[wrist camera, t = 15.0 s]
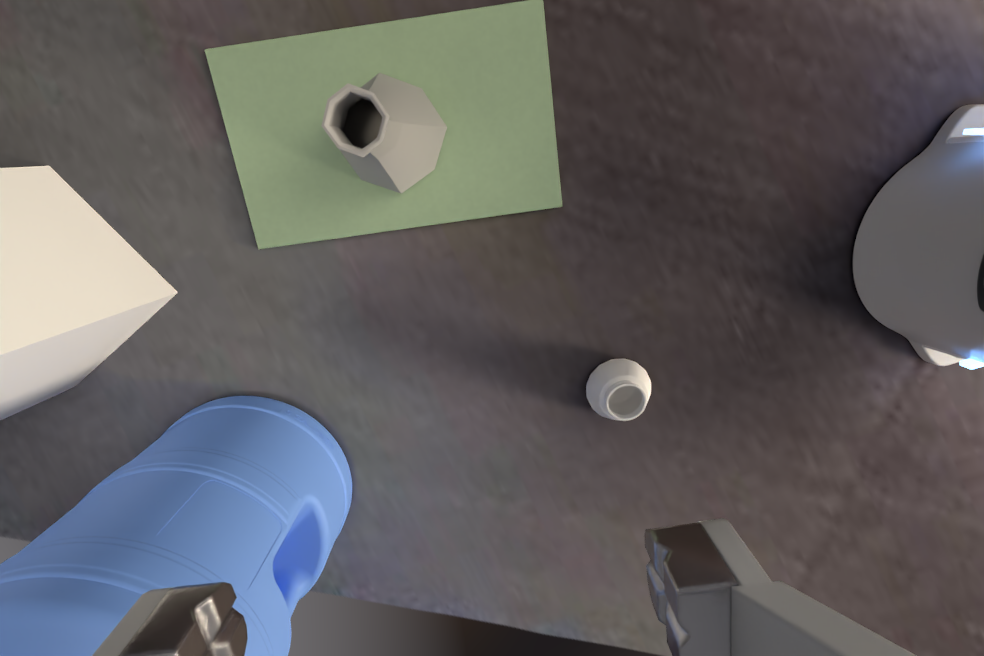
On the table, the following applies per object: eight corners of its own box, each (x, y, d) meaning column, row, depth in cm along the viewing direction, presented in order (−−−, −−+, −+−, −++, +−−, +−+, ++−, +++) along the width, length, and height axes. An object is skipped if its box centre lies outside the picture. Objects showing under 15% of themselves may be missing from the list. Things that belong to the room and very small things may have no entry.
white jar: (600, 424, 41) (657, 398, 41) (608, 443, 39) (670, 415, 38) (575, 373, 40) (633, 346, 39) (581, 388, 37) (645, 359, 37)
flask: (466, 124, 34) (458, 105, 25) (405, 212, 36) (376, 226, 26) (376, 51, 33) (331, 2, 23) (317, 146, 34) (252, 135, 25)
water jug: (127, 479, 42) (-493, 1010, 15) (241, 351, 39) (-288, 738, 12) (278, 584, 46) (-17, 1170, 19) (393, 474, 42) (239, 989, 16)
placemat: (542, 0, 32) (543, -3, 32) (561, 206, 36) (562, 206, 36) (207, 50, 33) (203, 49, 33) (260, 248, 37) (258, 249, 36)
